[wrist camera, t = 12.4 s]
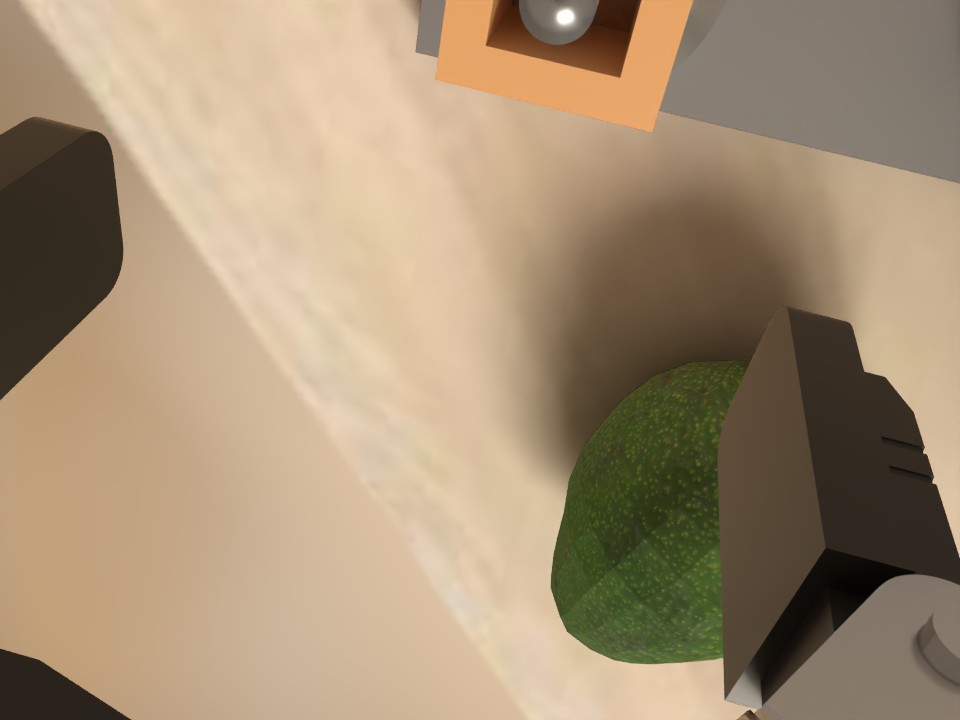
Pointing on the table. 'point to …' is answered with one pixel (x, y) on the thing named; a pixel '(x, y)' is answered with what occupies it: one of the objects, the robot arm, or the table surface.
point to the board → (821, 77)
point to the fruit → (649, 523)
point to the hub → (608, 20)
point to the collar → (565, 60)
